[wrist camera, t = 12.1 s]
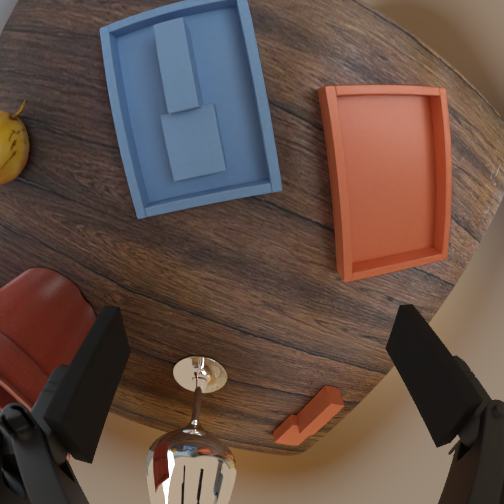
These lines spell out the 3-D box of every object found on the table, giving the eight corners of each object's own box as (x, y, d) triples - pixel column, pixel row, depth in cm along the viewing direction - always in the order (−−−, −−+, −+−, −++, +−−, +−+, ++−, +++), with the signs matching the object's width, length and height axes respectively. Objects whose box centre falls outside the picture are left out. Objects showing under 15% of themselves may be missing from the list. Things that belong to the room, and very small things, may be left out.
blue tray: (244, 0, 18) (245, -11, 16) (278, 185, 25) (282, 191, 23) (110, 34, 18) (99, 28, 16) (145, 211, 25) (137, 219, 23)
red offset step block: (319, 383, 35) (325, 402, 32) (343, 388, 36) (350, 406, 33) (272, 432, 39) (274, 449, 36) (295, 435, 40) (298, 452, 37)
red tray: (431, 88, 21) (445, 87, 19) (435, 249, 28) (447, 259, 26) (316, 89, 22) (324, 86, 19) (336, 270, 28) (344, 282, 26)
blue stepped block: (152, 39, 19) (140, 28, 16) (200, 26, 18) (195, 13, 16) (178, 177, 24) (170, 185, 21) (227, 167, 23) (225, 173, 20)
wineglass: (153, 373, 33) (122, 508, 16) (192, 337, 31) (169, 497, 14) (206, 403, 35) (199, 530, 19) (249, 372, 33) (258, 518, 17)
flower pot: (57, 219, 25) (-55, 307, 10) (145, 345, 31) (108, 471, 16) (-12, 280, 27) (-86, 355, 12) (61, 374, 33) (18, 464, 19)
